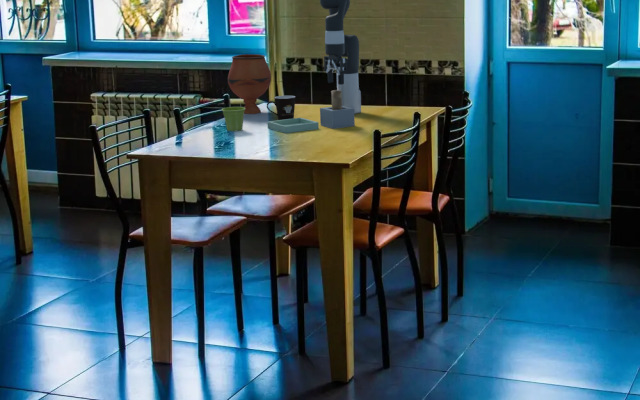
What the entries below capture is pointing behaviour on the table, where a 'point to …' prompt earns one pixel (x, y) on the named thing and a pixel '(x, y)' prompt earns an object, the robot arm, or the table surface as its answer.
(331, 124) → the blue storage bin
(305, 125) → the tray
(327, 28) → the robot arm
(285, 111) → the coffee mug
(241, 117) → the plant pot
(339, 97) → the dowel
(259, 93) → the goblet
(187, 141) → the table surface
